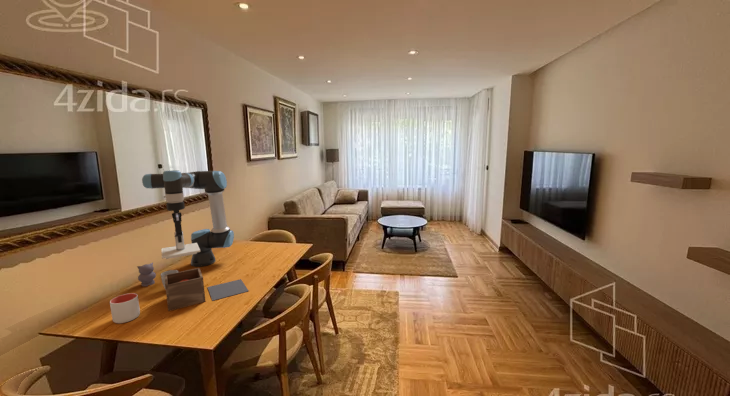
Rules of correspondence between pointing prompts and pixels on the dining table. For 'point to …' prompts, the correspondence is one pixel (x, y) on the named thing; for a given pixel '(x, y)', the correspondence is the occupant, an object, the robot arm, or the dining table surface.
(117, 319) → the cup
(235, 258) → the dining table surface
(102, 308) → the dining table surface
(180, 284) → the box
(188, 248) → the lid
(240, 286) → the mat
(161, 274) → the cup
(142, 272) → the cat figurine
